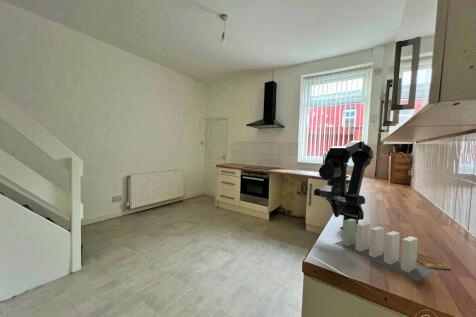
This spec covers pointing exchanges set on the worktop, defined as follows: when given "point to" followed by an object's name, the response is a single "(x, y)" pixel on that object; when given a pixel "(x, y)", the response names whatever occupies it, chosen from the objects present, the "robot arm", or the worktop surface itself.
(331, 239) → the worktop surface
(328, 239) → the worktop surface
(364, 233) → the ivory domino
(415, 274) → the mat
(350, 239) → the sage domino
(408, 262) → the ivory domino
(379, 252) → the ivory domino
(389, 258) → the ivory domino
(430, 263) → the shard
